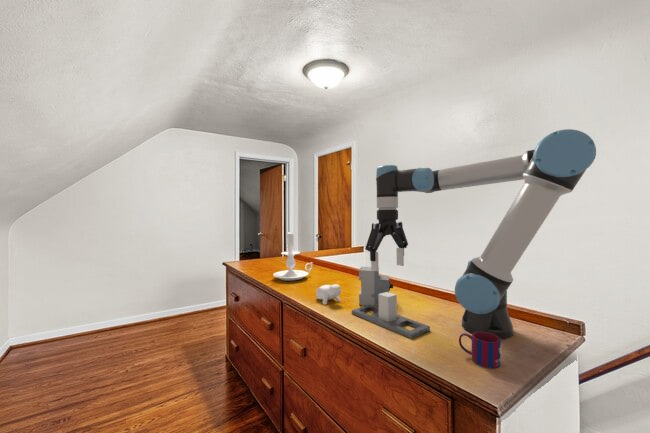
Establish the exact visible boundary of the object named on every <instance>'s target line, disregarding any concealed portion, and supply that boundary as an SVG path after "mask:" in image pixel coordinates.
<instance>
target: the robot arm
mask: <svg viewBox="0 0 650 433" xmlns="http://www.w3.org/2000/svg"><path fill="white" fill-rule="evenodd" d="M596 156H597V147H596V144H595V142H594V140H593V139H592V137H590V135H588V134H587V133H585V132H583V131H581V130H578V129H571V128H570V129H569V128H568V129H567V128H566V129H560V130H556V131H553V132H551V133H549V134H547V135H545V136H544V137H543V138H542V139H541V140H540V141H539V142H538V143H537V144H536V146H535V147H534V149H531V150H526V151H525V152H524V153H523V154H522V155H516V156H510V157H504V158H498V159H494V160H493V159H492V160H487V161H481V162H477V163H470V164H465V165H458V166H454V167H447V168H444V169H438V170H432V169H431V168H429V167H418V168H411V169H402V170H399V169H398V166H397V165H394V164H386V165H380V166H377V168H376V177H375V181H376V182H375V185H376V208H377V210H376V220H378V222H372V223H371V229H370V233H369V237H368V239H367V242H366V244H365V251H367V252H369V259H370V263H371V264H370V265H371V266H370V267H371V270H374V271H379V269H378V267H379V251H378V249H379V247H380V246H381V243H382V242H383V239H384V238H385V237H386V236H391V237H392V239H393V241H394V243H395V244H396V246H397V247H396V266H401V267H404V266H405V265H404V264H405V262H404V260H405V257H404V256H405V249H407V247H408V246H409V242H408V239H407V237H406V234H405V231H404V228H403V226H404V225H403V221H397V220H399V210H398V209H397V208H399V193H403V192H405V193H407V192H418V193H425V194H429V193H430V194H431V193H434V192H439V191H447V190H454V189H455V190H456V189H463V188H471V187H475V186H476V187H478V186H485V185H491V184H500V183H506V182H507V183H508V182H513V181H516V182H517V181H521V180H523V181H524V183H523V185H522V187H521V188H520V190H519V191H518V193H517V195H516V197H515V198H514V200H513V202H512V203H511V205H510V206H509V208H508V210H507V211H506V213H505V215H504V216H503V218H502V220H501V222H500V223H499V225H498V227H497V229H496V230H495V231H494V233H493V235H492V236H491V238H490V239H489V242H488V243H487V245H486V247H485V248H484V250H483V252H482V254H481V255H480V256H477V257H473V258H472V259H470V260H468V262H467V266H466V269H465V271H464V272H463V273H462V276H460V277H459V278H458V279H457V280H456V282H455V285H454V296H455V298H456V301H457V302H458V303H459V305H460V306H461V307H462V308H464V312H463V315H462V318H461V327H462V328H463V329H464V330H465V331H467V332H469V333H471V334H472V333H474V332H488V333H491V334H494V335H496V336H498V337H499V338H500V339H507V338H510V337H511V338H512V336H513V335H514V325H513V323H512V320H511V318H510V315H509V312H508V305H507V304H508V289H509V287H510V286H511V285H512V283H513V282H514V278H513V275H512V271H513V270H514V269H515V266H517V264H518V262H519V261H520V259H521V257H522V256H523V255H524V253H525V251H526V250H527V248H528V246H530V244H531V242H532V241H533V239H534V237H535V236H536V234H537V233H538V231H539V230H540V228H541V227H542V225H543V224H544V222H545V220H546V219H547V218H548V216H549V214H550V212H551V211H552V210H553V208H554V207H555V205H556V204H557V202H558V200H559V199H560V198H561V196H563V195H567V194H569V193H572V192H573V190H574V189H575V187H576V186H577V184H578V182H580V180H581V178H582V177H583V175H584V174H585V173H586V170H587V169H588V168H590V167H591V165H592V164H594V161H595V159H596Z"/></svg>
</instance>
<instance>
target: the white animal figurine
mask: <svg viewBox="0 0 650 433" xmlns="http://www.w3.org/2000/svg"><path fill="white" fill-rule="evenodd" d="M315 294H316V297H315V298H316V299H317V300H322V304H323V305H324V306H326V305H327V304H328V301H330V300H333V299H334V300H336V302H338V303H341V302H342V299H341V298H340V296H339V295H341V294H342V289H341V286H340V285H339V284H336V283H335V284H324V285H321V286H320V287H317V288H316V290H315Z"/></svg>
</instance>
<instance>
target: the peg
mask: <svg viewBox="0 0 650 433" xmlns="http://www.w3.org/2000/svg"><path fill="white" fill-rule="evenodd" d="M397 297H398V294H396V293H392V292H390V291H389V292H385V293H381V294H378V299H379V306H378V308H379V319H382V320H384V321H387V322H391V321H393V320H396V319H397V315H398V310H397V309H398V304H397V303H398V302H397V301H398V298H397Z"/></svg>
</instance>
